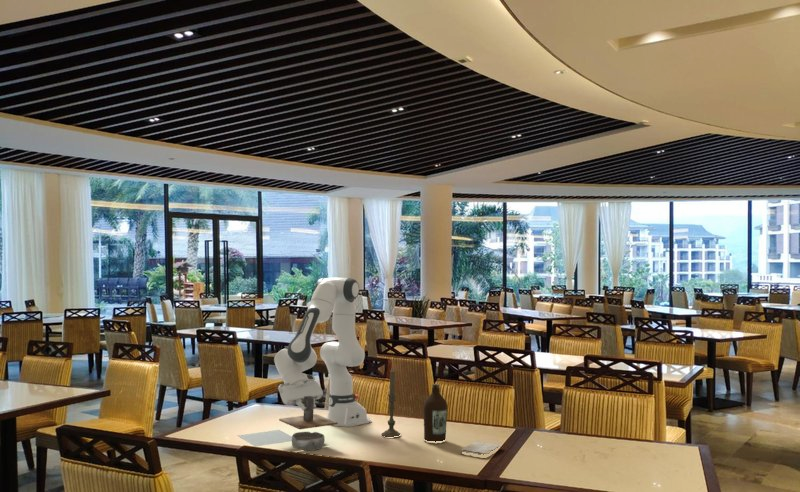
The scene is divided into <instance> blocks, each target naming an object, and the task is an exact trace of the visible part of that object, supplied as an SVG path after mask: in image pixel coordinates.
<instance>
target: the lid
mask: <svg viewBox="0 0 800 492" xmlns="http://www.w3.org/2000/svg"><path fill="white" fill-rule="evenodd" d="M303 404H304V405H306V407H307V409H306V410H303V415H299V416H291V417H284V418H281V417H280V418H279V419H278V420H279V422H282V423H284V424H286V425H289V426H291V427H292V428H295V429H297V430H304V429H313V428H314V429H315V428H321V427H327V426H333V425H336V424H338V422H335V421H333V420H330V419H327V417H324V416H322V415H319V414H316V413H315V414H314V410H315V408H314V397H312V396H304V402H303Z"/></svg>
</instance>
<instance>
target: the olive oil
mask: <svg viewBox="0 0 800 492" xmlns="http://www.w3.org/2000/svg"><path fill="white" fill-rule="evenodd" d="M431 386H432V387H431V394H430V395H429V396H427V398H425V400H424V403H423V436H424V437H423V439H425V440H427V441H435V442H436V441H443V440H445V439H446V438H447V437H446V436H447V421H448V420H447V419H448V403H447V401H446V399H445V397H443V395H441V393H440V391H441V390H440V384H438V383H433V384H432V385H431ZM446 440H447V439H446Z"/></svg>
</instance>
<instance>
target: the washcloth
mask: <svg viewBox="0 0 800 492" xmlns="http://www.w3.org/2000/svg"><path fill="white" fill-rule="evenodd" d="M500 445H501V444H498V443H488V442H485V441H475V442H474V443H471V444H469V445H468V446H465V447H463V448H460V452H461V451H462V452H466V453H473V454H478V455H481V454H483V455H484V454H489V453H490V452H491V451H493V450H495V449H496V448H498V447H499V446H500ZM462 452H461V453H462Z"/></svg>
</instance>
